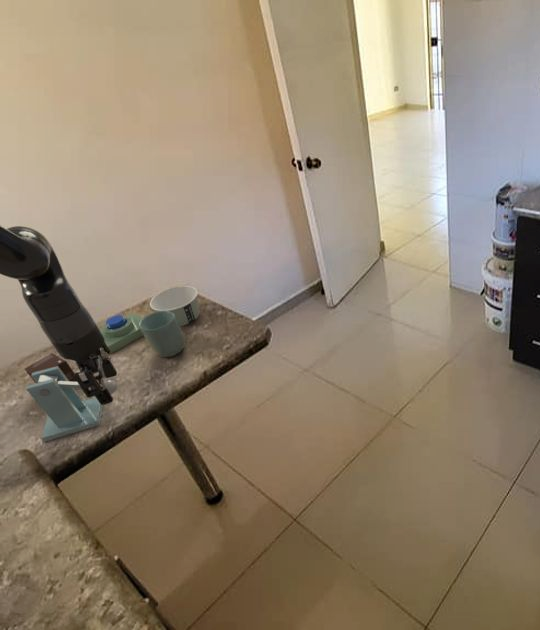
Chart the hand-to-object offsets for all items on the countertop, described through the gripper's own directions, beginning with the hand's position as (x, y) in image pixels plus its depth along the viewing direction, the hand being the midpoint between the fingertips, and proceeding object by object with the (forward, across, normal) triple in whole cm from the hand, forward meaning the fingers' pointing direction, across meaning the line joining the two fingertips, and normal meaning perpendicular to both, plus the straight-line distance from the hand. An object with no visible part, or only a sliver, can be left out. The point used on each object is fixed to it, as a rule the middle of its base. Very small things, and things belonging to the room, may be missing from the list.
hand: (109, 388), depth 92 cm
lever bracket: (+6, 0, -9) cm, 10 cm away
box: (+6, -13, -13) cm, 19 cm away
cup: (+5, -15, +10) cm, 19 cm away
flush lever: (-2, 0, -5) cm, 5 cm away
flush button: (+2, -28, -2) cm, 28 cm away
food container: (+5, -30, +13) cm, 33 cm away
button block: (+5, -28, -2) cm, 29 cm away
